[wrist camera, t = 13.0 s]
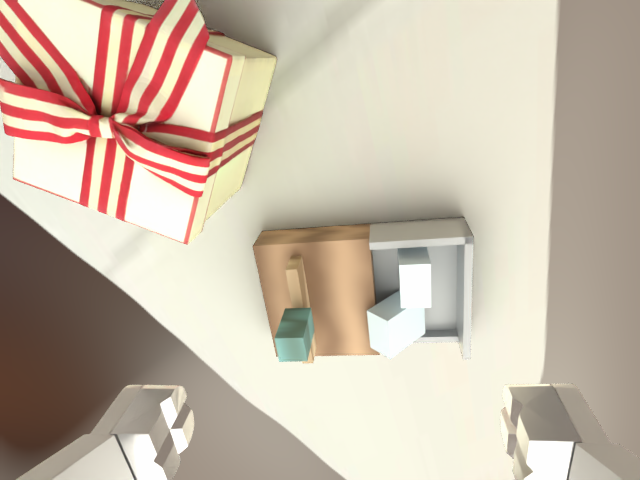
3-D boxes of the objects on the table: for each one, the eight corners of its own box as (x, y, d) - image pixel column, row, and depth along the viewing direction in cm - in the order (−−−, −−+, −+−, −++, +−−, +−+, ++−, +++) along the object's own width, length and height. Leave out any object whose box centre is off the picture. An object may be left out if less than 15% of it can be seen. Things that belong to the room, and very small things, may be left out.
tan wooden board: (283, 336, 54) (276, 356, 51) (262, 231, 48) (252, 246, 45) (379, 333, 52) (379, 354, 49) (370, 223, 46) (369, 238, 43)
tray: (379, 333, 52) (379, 360, 48) (370, 223, 46) (369, 242, 42) (462, 331, 51) (470, 359, 46) (463, 217, 45) (473, 236, 40)
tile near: (401, 308, 43) (431, 307, 42) (399, 265, 41) (430, 263, 40) (398, 278, 48) (425, 277, 48) (396, 239, 46) (424, 237, 45)
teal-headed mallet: (300, 346, 50) (286, 397, 42) (283, 256, 45) (265, 297, 38) (323, 345, 49) (313, 397, 42) (309, 255, 44) (295, 295, 37)
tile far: (370, 347, 47) (390, 359, 45) (366, 310, 45) (387, 321, 43) (405, 323, 50) (425, 333, 48) (403, 287, 48) (424, 296, 46)
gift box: (289, 9, 38) (229, -16, 23) (253, 191, 46) (191, 265, 31) (113, -42, 38) (-66, -101, 23) (107, 149, 47) (-27, 201, 31)
